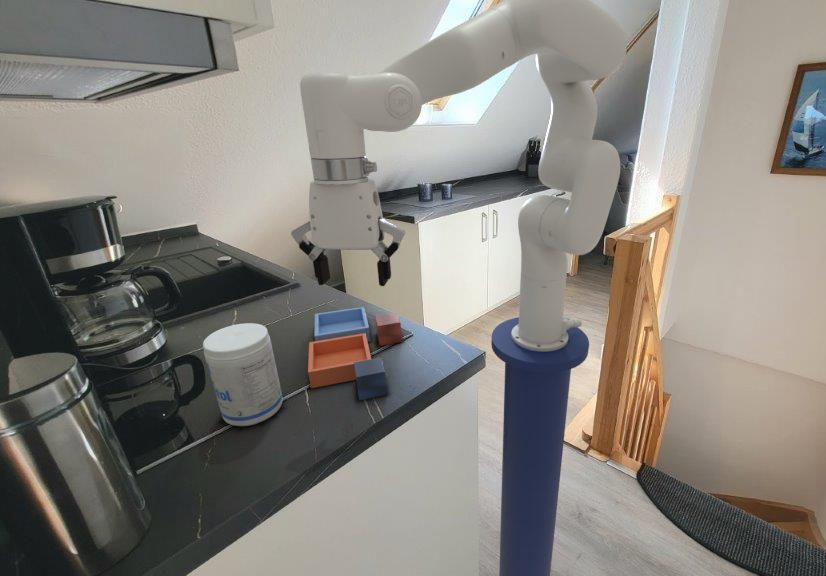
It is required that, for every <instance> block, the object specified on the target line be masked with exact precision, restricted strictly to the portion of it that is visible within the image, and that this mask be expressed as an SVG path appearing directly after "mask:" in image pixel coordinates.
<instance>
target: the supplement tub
mask: <svg viewBox="0 0 826 576" xmlns="http://www.w3.org/2000/svg"><path fill="white" fill-rule="evenodd" d="M202 349H203V354H204V359H205V363H206V366H207V370H208V372H209V376H210V379H211V384H212V387H213V391H214V394H215V397H216V401H217V404H218V407H219V411H220V414H221V418H222V419H223V421H224V422H225V423H226V424H229V425H231V426H235V427H249V426H253V425H257V424H259V423H262V422H264V421H266V420H268V419H269V418H271V417H273V416H274V415H275V414H276V413H277V412H278V411H279V410H280V408H281V407H282V404H283V399H284V398H283V393H282V388H281V383H280V378H279V373H278V369H277V364H276V359H275V354H274V350H273V346H272V339H271V337H270V334H269V332H268V329H267V327H266V326H265V325H263V324H260V323H253V322H246V323H238V324H232V325H229V326H226V327H223V328H220V329H218V330H215V331H214V332H212V333H211V334H209V335H208V336H206V338H205V339H204V340H203V342H202Z"/></svg>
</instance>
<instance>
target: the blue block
mask: <svg viewBox="0 0 826 576" xmlns="http://www.w3.org/2000/svg"><path fill="white" fill-rule="evenodd" d="M354 366H355V374H356V386H357V387H356V388H357V395H358V399H359V401H363V400H368V399H373V398H379V397H382V396H387V395H388V387H387V380H386V379H387V378H386V371H385V366H384V362H383V359H382V357H376V358H371V359H370V360H364V361H359V362H354Z"/></svg>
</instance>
